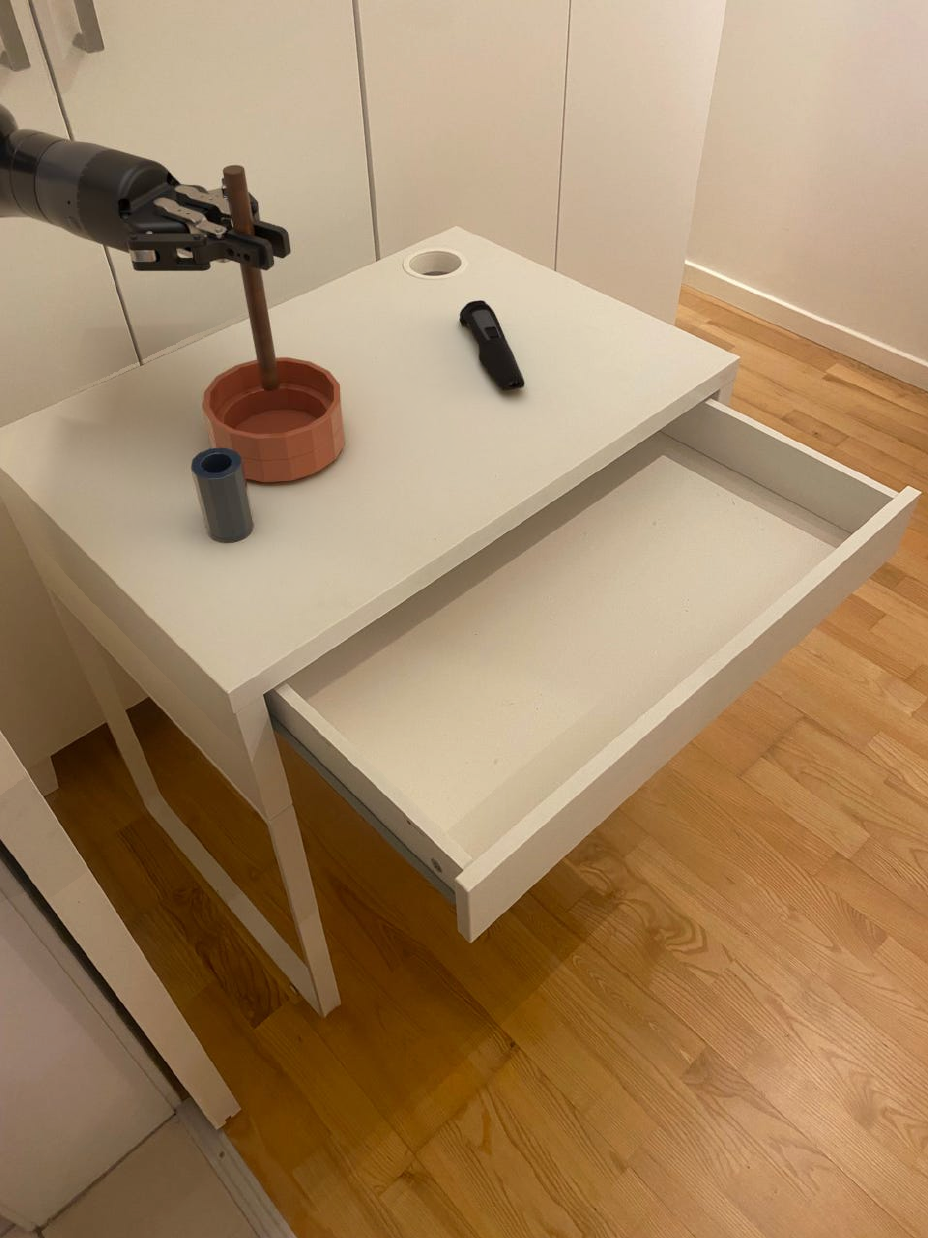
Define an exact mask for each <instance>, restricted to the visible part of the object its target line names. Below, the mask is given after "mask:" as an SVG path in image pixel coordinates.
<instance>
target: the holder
mask: <svg viewBox="0 0 928 1238" xmlns="http://www.w3.org/2000/svg"><path fill="white" fill-rule="evenodd" d="M190 471H191V475H192V479H193V482H194V487H195V491H196V495H197V498H198V503H199V506H200V511H201V515H202V519H203V522H204V527H205V529H206V531H207V534H208V535H209V537H210V538H211V539H212V540H214V541H217V542H220V543H235V542H239V541H241V540H243V539H246V538H247V537H248V536H249V535H251V533H252V532H253V530H254V528H255V521H254V513H253V512H254V511H253V507H252V502H251V497H250V491H249V487H248V482H247V478H246V476H245V471H244V466H243V461H242V457H241V456H240V455H239V454H238V453H237V452H236V451H235V450H232V449H228V448H211V447H210V448H208V449H205V450H203V451H200V452H198V453H197V455H196V456H194V458H193V459H192V460H191V465H190Z"/></svg>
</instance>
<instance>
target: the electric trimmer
mask: <svg viewBox="0 0 928 1238" xmlns="http://www.w3.org/2000/svg"><path fill="white" fill-rule="evenodd" d="M459 323H460V324H461V325H462V326H466V325H467V326H468V328H469V330H470V331H471V333H472V336H473V337H474V340H475V341H476V344H477V347H478V358H479V362H480V363H481V365H482V366H483V368H484V369H485V370H486V372H487V373H488V374H489V376H490V377H491V379H492V380H493V381H494V383H496V385H497V386H498V387H499V389H500V390H502V391H509V390H515V389H522V388H524V387H525V379H524V377H523V373H522V372H521V369H520V367H519V364H518V361H517V360H516V357H515V355H514V352H513V351H512V349H511V346H510V344H509V343H508V341H507V339H506V336H505V334H504V331H503V329H502V327H501V325H500V322H499V320H498V318H497V315H496V314H495V312H494V310H493V308H492V307H491V306H490V305H489V304H488V303H487V302H486V301H485V300H481V299H480V300H473V301H469V302H467V303H466V304H465V305H464V306H463V308H462V309H461V311H460V313H459Z"/></svg>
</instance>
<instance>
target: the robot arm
mask: <svg viewBox="0 0 928 1238" xmlns="http://www.w3.org/2000/svg"><path fill="white" fill-rule="evenodd" d="M168 169H169V168H167V167H165V166H164V165H163V164H162V163H160V162H158V161H156V160H153V159H150V158H145V157H144V156H143V157H142V156H139V155H136V154H132V153H128V152H125V151H122V150H118V149H115V148H112V147H109V146H105V145H101V144H97V143H95V142H94V143H93V142H89V141H87V142H86V141H77V140H72V139H68V138H65V137H61V136H57V135H54V134H51V133H48V132H44V131H41V130H38V129H32V128H20V127H19V124H18V122H17V120H16V118H15V116H14V114H12V112H11V111H10V110H9V109H8V108H7V107H6V106H5V105H3V104H2V103H1V102H0V219H7V218H30V219H33V220H36V221H39V222H43V223H45V224H47V225H52V226H54V227H58V228H61V229H63V230H64V231H66V232H68V233H69V234H72V235H74V236H76V237H79V238H80V239H81V238H82V239H84V240H88V241H90V242H94V243H97V244H99V245H102V246H106V247H108V248H112V249H115V250H117V251H121V252H124V253H126V254H129V256H130V260H131V264H132V268H133V270H135V271H136V272H205V271H208V270H209V269H211V267H212V266H211V263H213V262H217V263H219V264H227V263H229V262H234V263H237V264H239V265H240V264H243V265H247V266H249V267H253V268H259V269H261V271H262V270H263V271H268V270H270V269H271V268H273V267H274V266H275V259H274V257H276V258H279V259H282V260H283V259H285V258H286V257H288V256H289V255H290V254H291V252H292V251H291V243H290V241H291V240H290V234H289V232H288V230H287V229H286V228H285V227H283V226H280V225H276V224H272V223H269V222H266V221H264V220H261V216H260V215H261V214H260V205H259V201H258V200H257V199H256V198H255V197H254V195H252V193H251V192H250V191H248V193H249V199H250V205H251V212H252V218H253V224H254V230H255V236H253V235H250V234H246V233H243V232H239V231H236V230H233V224H232V219H231V213H230V208H229V202H228V197H227V192H226V186H225V181H224V177H222V178H221V184H222V185H221V186H220V187H218V188H214V189H209V190H207V189H206V188H205V187H203V186H202V185H198V184H185V183H184V184H182V183H181V182H180V181H179V180H178V179H177V178H176V177H175V176H174V175H173V174H172V173H171V171H170V170H168ZM179 254H180V255H181V256H185V257H181V256H180V255H179Z"/></svg>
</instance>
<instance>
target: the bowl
mask: <svg viewBox="0 0 928 1238" xmlns="http://www.w3.org/2000/svg"><path fill="white" fill-rule="evenodd" d="M276 363H277V369H278V375H279V381H280V387H279V388H278V389H277V390H274V391H266V390H264V389H263V388H262V384H261V378H260V373H259V367H258V362H257V358H256V359H253V360H249V361H246V362H243V363H238V364H236V365H233V366H232V367H230V368H228V369H227V370H224V371H223V372H222V373H220V374H218V375H217V376H215V377H214V379H213V380H212V381H211V382H210V383H209V385H208V386H207V387H206V389H205V390H204V391H203V396H202V397H203V399H202V405H201V406H202V407H201V408H202V412H203V416H204V421H205V426H206V430H207V435H208V440H209V443H210V448H228V449H232V450H235V451H236V452H237V453H238V454H239V455H240V456H241V457H242V461H243V466H244V471H245V476H246V480H252V481H257V482H262V483H273V482H289V481H294V480H298V479H300V478H305V477H307V476H311V475H313V474H316V473H318V472H319V471H321V470H322V469H324V468H325V467H327V466H328V465H329V464H331V463H332V462H334V461H335V460H336V459H337V457H338V456H339V454H340V452H341V451H342V449H343V448H344V446H345V444H346V441H345V439H346V438H345V424H344V412H343V411H344V410H343V401H342V392H341V384H340V383H339V382H338V380H337V379H336V378H335V376H334V375H333V374H332V373H331V371H329V370H328V369H326V368H324V367H322V366H320V365H318V364H316V363H314V362H312V361H309V360H304V359H300V358H294V357H287V356H283V357H282V356H281V357H279V356H278V357H276Z"/></svg>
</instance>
